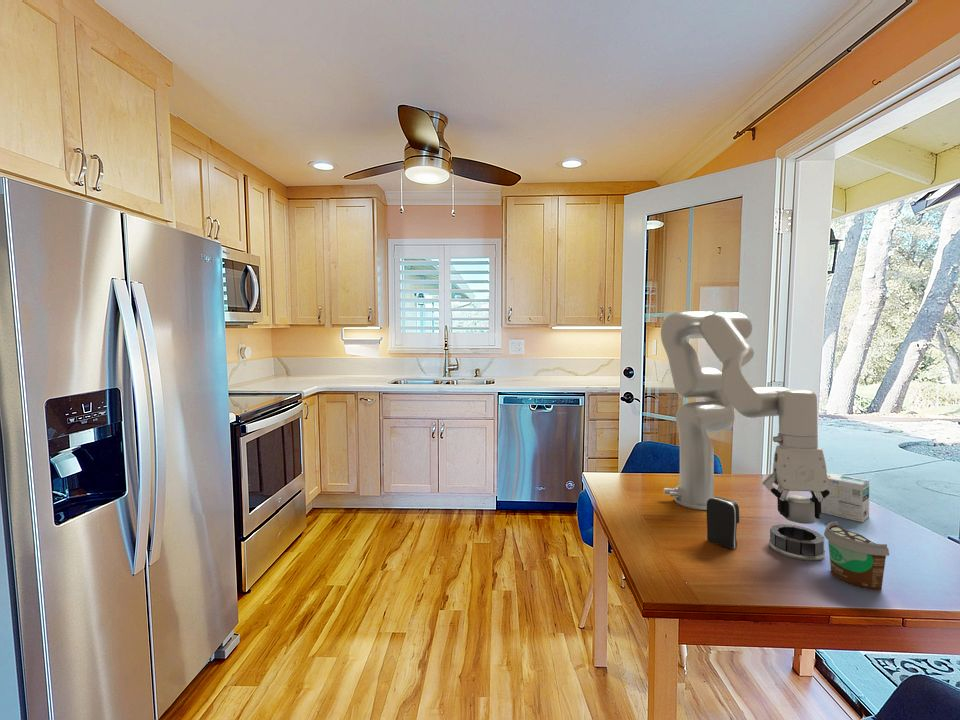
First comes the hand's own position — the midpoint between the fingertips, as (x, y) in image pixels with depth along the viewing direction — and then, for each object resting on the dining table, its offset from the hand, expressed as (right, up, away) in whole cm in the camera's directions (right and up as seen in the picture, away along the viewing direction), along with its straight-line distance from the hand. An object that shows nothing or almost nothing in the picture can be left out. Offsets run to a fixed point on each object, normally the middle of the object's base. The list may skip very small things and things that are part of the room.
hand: (799, 515), depth 107 cm
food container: (+1, -10, -12) cm, 15 cm away
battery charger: (-15, -9, +5) cm, 19 cm away
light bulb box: (+28, -7, +21) cm, 35 cm away
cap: (0, -1, 0) cm, 1 cm away
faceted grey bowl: (0, -9, +1) cm, 9 cm away
